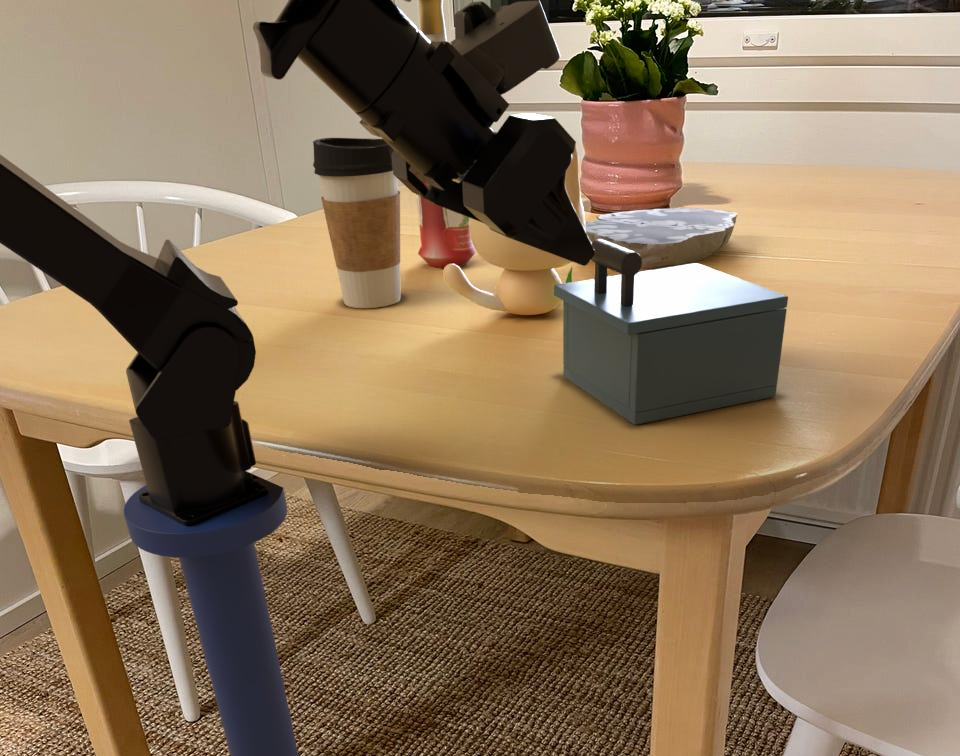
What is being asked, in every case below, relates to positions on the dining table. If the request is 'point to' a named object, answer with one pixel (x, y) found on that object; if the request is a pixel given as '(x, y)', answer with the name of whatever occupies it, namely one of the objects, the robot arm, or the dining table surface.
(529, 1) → the robot arm
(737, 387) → the cooler
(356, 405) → the dining table surface
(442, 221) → the liquor
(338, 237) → the coffee cup
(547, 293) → the beige cat figurine
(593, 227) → the grey flat stone slab
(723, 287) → the lid
